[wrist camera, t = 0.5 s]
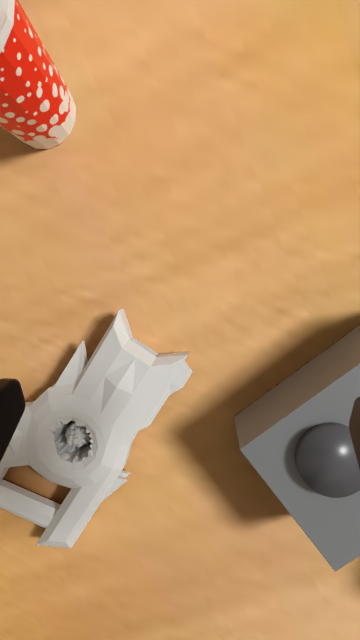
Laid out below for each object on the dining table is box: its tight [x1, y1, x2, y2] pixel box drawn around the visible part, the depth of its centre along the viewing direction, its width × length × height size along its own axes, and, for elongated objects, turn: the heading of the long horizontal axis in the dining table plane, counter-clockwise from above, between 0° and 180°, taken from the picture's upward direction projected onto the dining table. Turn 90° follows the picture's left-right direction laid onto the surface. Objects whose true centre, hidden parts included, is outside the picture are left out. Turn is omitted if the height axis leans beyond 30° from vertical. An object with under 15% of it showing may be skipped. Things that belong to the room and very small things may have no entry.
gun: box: [0, 309, 192, 548], centre depth 23 cm, size 18×3×10 cm
